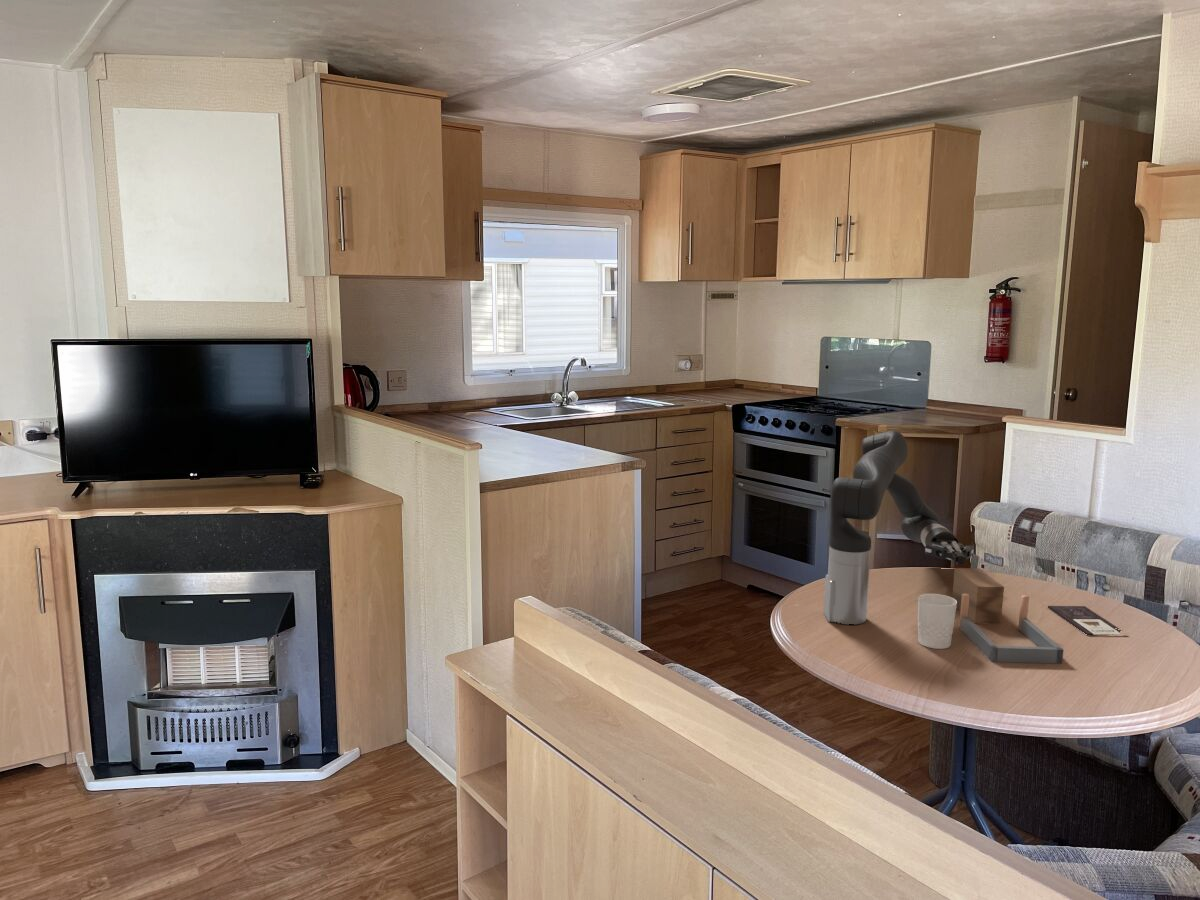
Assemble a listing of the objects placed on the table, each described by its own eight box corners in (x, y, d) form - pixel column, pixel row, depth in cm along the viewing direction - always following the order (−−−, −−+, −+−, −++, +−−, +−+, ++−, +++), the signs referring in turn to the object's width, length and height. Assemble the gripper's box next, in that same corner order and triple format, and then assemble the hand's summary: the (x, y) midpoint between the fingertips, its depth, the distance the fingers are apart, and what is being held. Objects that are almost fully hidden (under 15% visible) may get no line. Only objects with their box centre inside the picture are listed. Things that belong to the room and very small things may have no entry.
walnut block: (974, 623, 209) (977, 586, 207) (951, 603, 223) (954, 568, 221) (1000, 624, 209) (1004, 586, 207) (976, 603, 223) (979, 568, 221)
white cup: (947, 637, 200) (951, 594, 199) (957, 651, 193) (961, 606, 191) (911, 635, 201) (914, 592, 199) (919, 649, 193) (923, 605, 192)
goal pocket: (990, 661, 187) (993, 624, 186) (958, 626, 206) (960, 593, 205) (1063, 663, 187) (1067, 626, 185) (1024, 628, 206) (1027, 595, 204)
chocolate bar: (1084, 606, 220) (1127, 634, 202) (1084, 609, 220) (1127, 638, 202) (1047, 605, 220) (1087, 633, 202) (1047, 609, 220) (1087, 637, 202)
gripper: (914, 526, 243) (935, 545, 226) (964, 527, 242) (989, 546, 225) (912, 553, 244) (933, 574, 227) (962, 554, 244) (986, 575, 227)
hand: (961, 560), depth 226 cm, fingers closed
